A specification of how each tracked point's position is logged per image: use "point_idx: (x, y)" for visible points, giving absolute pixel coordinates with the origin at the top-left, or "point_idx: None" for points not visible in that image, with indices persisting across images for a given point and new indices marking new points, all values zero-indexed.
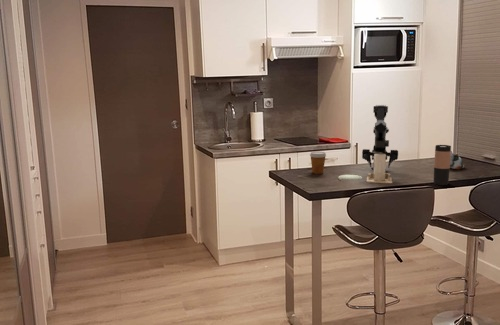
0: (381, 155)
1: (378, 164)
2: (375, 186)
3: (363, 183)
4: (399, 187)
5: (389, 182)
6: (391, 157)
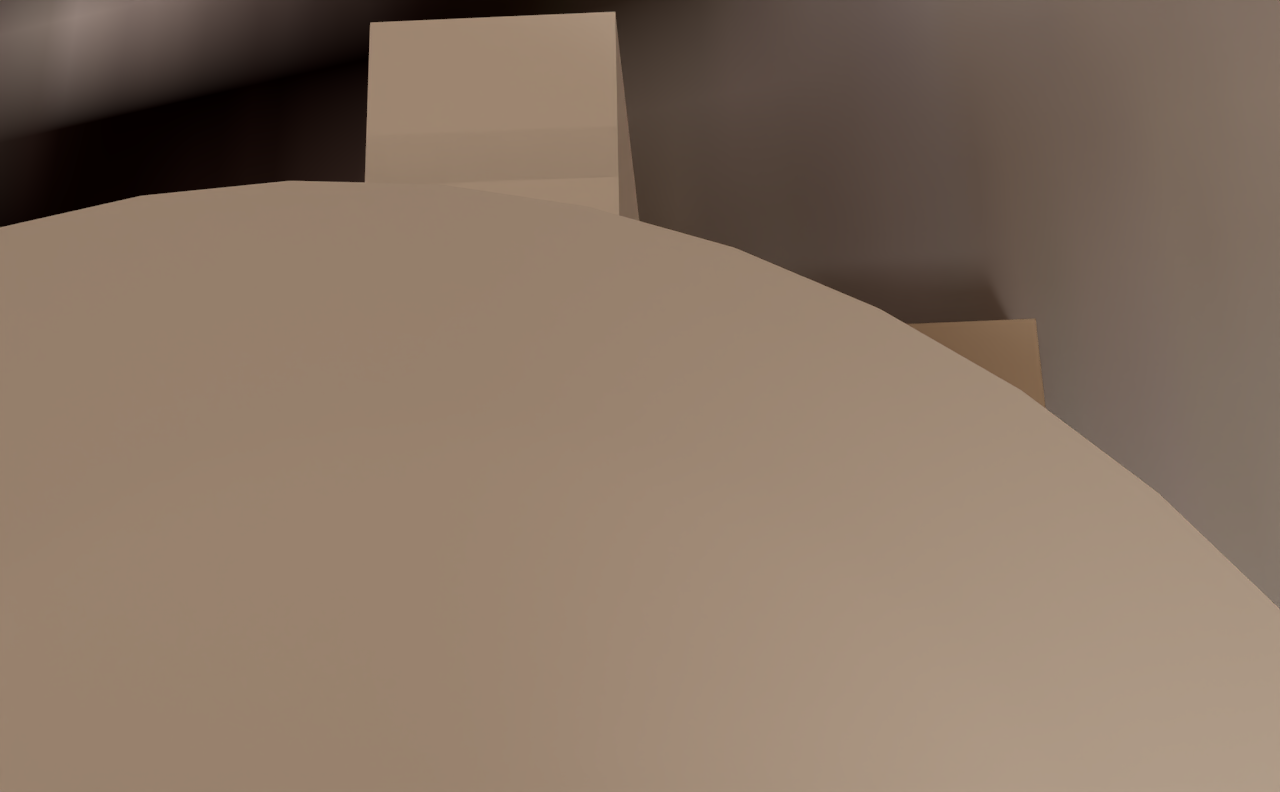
0: (44, 237)
1: (627, 129)
2: (723, 85)
3: (1124, 394)
4: (53, 122)
5: None
6: None
